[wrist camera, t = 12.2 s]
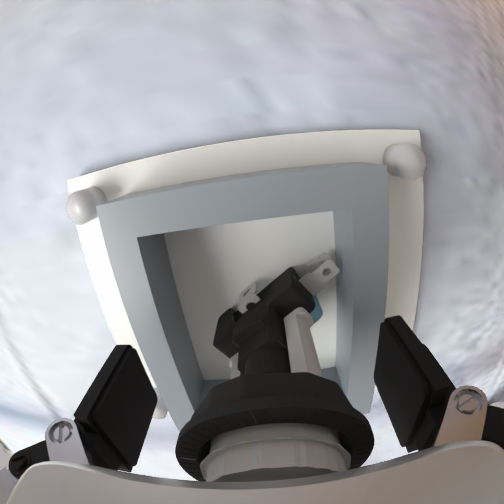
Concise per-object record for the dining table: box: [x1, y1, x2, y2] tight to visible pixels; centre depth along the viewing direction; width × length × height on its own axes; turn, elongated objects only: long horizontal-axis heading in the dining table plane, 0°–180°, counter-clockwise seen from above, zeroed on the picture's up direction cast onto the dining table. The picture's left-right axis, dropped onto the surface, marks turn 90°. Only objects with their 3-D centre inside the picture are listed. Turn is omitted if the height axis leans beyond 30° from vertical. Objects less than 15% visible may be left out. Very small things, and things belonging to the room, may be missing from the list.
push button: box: [175, 252, 374, 482], centre depth 10 cm, size 7×5×10 cm
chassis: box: [66, 129, 426, 431], centre depth 14 cm, size 18×16×4 cm
